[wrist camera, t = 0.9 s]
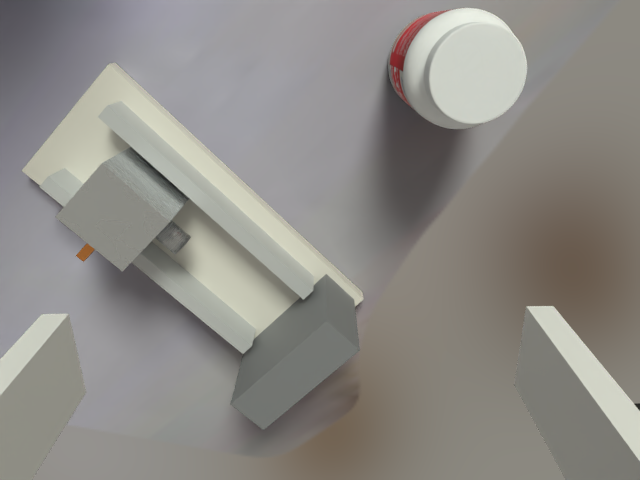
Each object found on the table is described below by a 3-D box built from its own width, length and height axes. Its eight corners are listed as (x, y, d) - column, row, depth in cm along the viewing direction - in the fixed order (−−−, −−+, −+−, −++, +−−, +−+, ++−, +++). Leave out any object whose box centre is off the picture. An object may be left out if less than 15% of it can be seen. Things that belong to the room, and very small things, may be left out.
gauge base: (30, 166, 38) (-44, 199, 31) (115, 62, 36) (58, 70, 28) (274, 368, 44) (263, 438, 37) (362, 292, 42) (370, 350, 34)
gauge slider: (73, 214, 38) (30, 245, 32) (136, 143, 36) (101, 163, 30) (149, 276, 40) (119, 316, 34) (212, 211, 38) (193, 241, 32)
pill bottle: (367, 67, 36) (385, 80, 25) (433, -9, 34) (481, -28, 24) (433, 129, 37) (475, 165, 27) (499, 59, 35) (571, 69, 25)
